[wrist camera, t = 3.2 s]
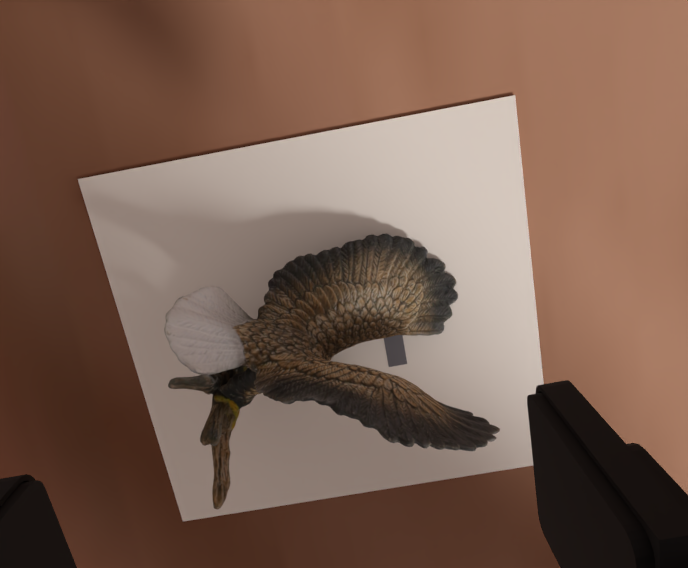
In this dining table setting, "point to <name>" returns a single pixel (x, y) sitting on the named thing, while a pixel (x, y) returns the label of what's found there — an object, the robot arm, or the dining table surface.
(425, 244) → the white square panel
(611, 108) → the dining table surface
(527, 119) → the dining table surface
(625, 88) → the dining table surface
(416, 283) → the eagle figurine
